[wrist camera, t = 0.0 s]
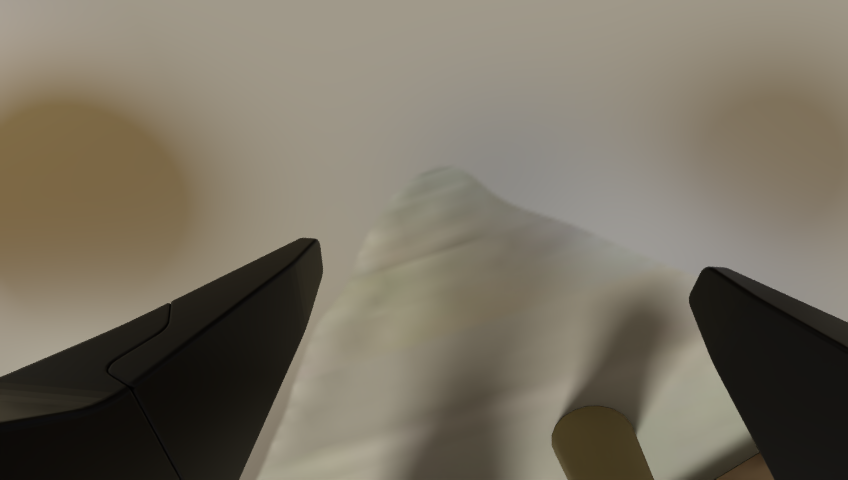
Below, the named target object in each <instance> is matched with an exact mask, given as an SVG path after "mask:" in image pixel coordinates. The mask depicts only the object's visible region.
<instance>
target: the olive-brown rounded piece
mask: <svg viewBox="0 0 848 480" xmlns="http://www.w3.org/2000/svg"><path fill="white" fill-rule="evenodd" d="M552 447H553V449H554V452H555V454H556V456H557V458H558V460H559V462H560V464H561V467H562V469H563V471H564V473H565V475H566V477H567V479H568V480H654V478H653V476H652V474H651V471H650V469H649V466H648V464H647V461H646V459H645V456H644V454H643V452H642V449H641V447H640V444H639V442H638V439H637V437H636V434H635V432H634V430H633V427H632V425H631V423H630V422H629V421H628V419H627V418H626V417H625V416H624V415H623V414H621V413H619V412H617V411H616V410H614V409H611V408H607V407H602V406H587V407H583V408H580V409H577V410H574V411H572V412H570V413H569V414H567V415H566V416H564V417H563V418H562V419H561V420H560V421H559V422H558V424H557V425H556V426H555V429H554V431H553V434H552Z"/></svg>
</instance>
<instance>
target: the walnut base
mask: <svg viewBox="0 0 848 480" xmlns="http://www.w3.org/2000/svg"><path fill="white" fill-rule="evenodd" d="M716 480H774V478H773V476H772V475H771V473H770V471H769V469H768V467H767V465H766V463H765V461H764V459H763V458H762V456H761V454H760V453H759V454H757V455H755V456H754V457H752V458H750V459H749V460H747V461H745V462H744V463H742V464H740V465H739V466H737V467H735V468H734V469H732V470H731V471H729V472H727V473H726V474H724V475H722V476H721V477H719V478H717V479H716Z"/></svg>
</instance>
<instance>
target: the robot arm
mask: <svg viewBox="0 0 848 480" xmlns="http://www.w3.org/2000/svg"><path fill="white" fill-rule="evenodd" d="M322 274H323V265H322V256H321V248H320V243H319V241H318V240H317V239H313V238H300V239H298V240H296V241H294V242H292V243H289V244H287V245H286V246H284V247H281V248H279V249H277V250H275V251H273V252H271V253H269V254H267V255H265V256H263V257H261V258H259V259H257V260H255V261H253V262H251V263H249V264H247V265H245V266H243V267H241V268H239V269H237V270H235V271H232V272H231V273H228V274H227V275H224V276H222V277H220V278H218V279H216V280H214V281H212V282H210V283H208V284H206V285H204V286H202V287H200V288H198V289H196V290H194V291H192V292H190V293H188V294H186V295H184V296H182V297H179V298H178V299H175V300H173V301H172V302H171V304H170V303H167V304H165V305H163V306H161V307H159V308H157V309H155V310H153V311H151V312H149V313H147V314H145V315H142V316H140V317H138V318H136V319H134V320H132V321H130V322H128V323H125V324H124V325H121V326H119V327H116V328H114V329H112V330H110V331H107V332H105V333H103V334H100V335H98V336H96V337H94V338H91V339H89V340H87V341H84V342H82V343H80V344H77V345H75V346H73V347H70V348H68V349H66V350H63V351H61V352H59V353H56V354H54V355H52V356H49V357H47V358H44V359H42V360H40V361H38V362H35V363H33V364H30V365H28V366H25V367H23V368H21V369H19V370H16V371H14V372H11V373H9V374H7V375H4V376H2V377H0V480H239V479H240V476H241V474H242V472H243V470H244V467H245V465H246V463H247V460H248V458H249V456H250V454H251V451H252V449H253V447H254V445H255V442H256V440H257V438H258V436H259V434H260V431H261V429H262V427H263V425H264V422H265V420H266V418H267V416H268V413H269V411H270V409H271V407H272V404H273V402H274V400H275V398H276V395H277V393H278V391H279V389H280V386H281V384H282V382H283V380H284V378H285V375H286V373H287V371H288V368H289V366H290V364H291V362H292V360H293V357H294V355H295V353H296V351H297V348H298V346H299V344H300V342H301V339H302V337H303V335H304V332H305V330H306V327H307V324H308V321H309V317H310V315H311V311H312V308H313V305H314V301H315V298H316V295H317V292H318V288H319V285H320V282H321V278H322ZM689 304H690V307H691V310H692V312H693V315H694V317H695V320H696V322H697V325H698V327H699V330H700V332H701V335H702V337H703V340H704V342H705V345H706V348H707V350H708V353H709V355H710V357H711V360H712V362H713V364H714V366H715V368H716V370H717V372H718V374H719V376H720V378H721V380H722V382H723V383H724V385H725V387H726V389H727V391H728V393H729V395H730V397H731V399H732V401H733V402H734V404H735V406H736V408H737V410H738V412H739V414H740V416H741V418H742V420H743V421H744V423H745V425H746V427H747V429H748V431H749V433H750V435H751V437H752V439H753V440H754V442H755V444H756V446H757V448H758V450H759V452H760V454H761V456H762V458H763V459H764V461H765V463H766V465H767V467H768V469H769V471H770V473H771V475H772V476H773V478H774V480H848V322H846V321H843V320H841V319H839V318H837V317H835V316H832V315H830V314H828V313H825V312H823V311H821V310H819V309H817V308H815V307H812V306H810V305H808V304H806V303H804V302H801V301H799V300H797V299H795V298H792V297H790V296H788V295H786V294H784V293H781V292H779V291H777V290H775V289H772V288H770V287H768V286H766V285H764V284H761V283H759V282H757V281H755V280H752V279H750V278H748V277H746V276H744V275H742V274H739V273H737V272H735V271H733V270H730V269H728V268H724V267H706V268H704V269H703V270H702V271H701V273H700V275H699V277H698V279H697V281H696V283H695V285H694V287H693V289H692V291H691V293H690V296H689Z"/></svg>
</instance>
